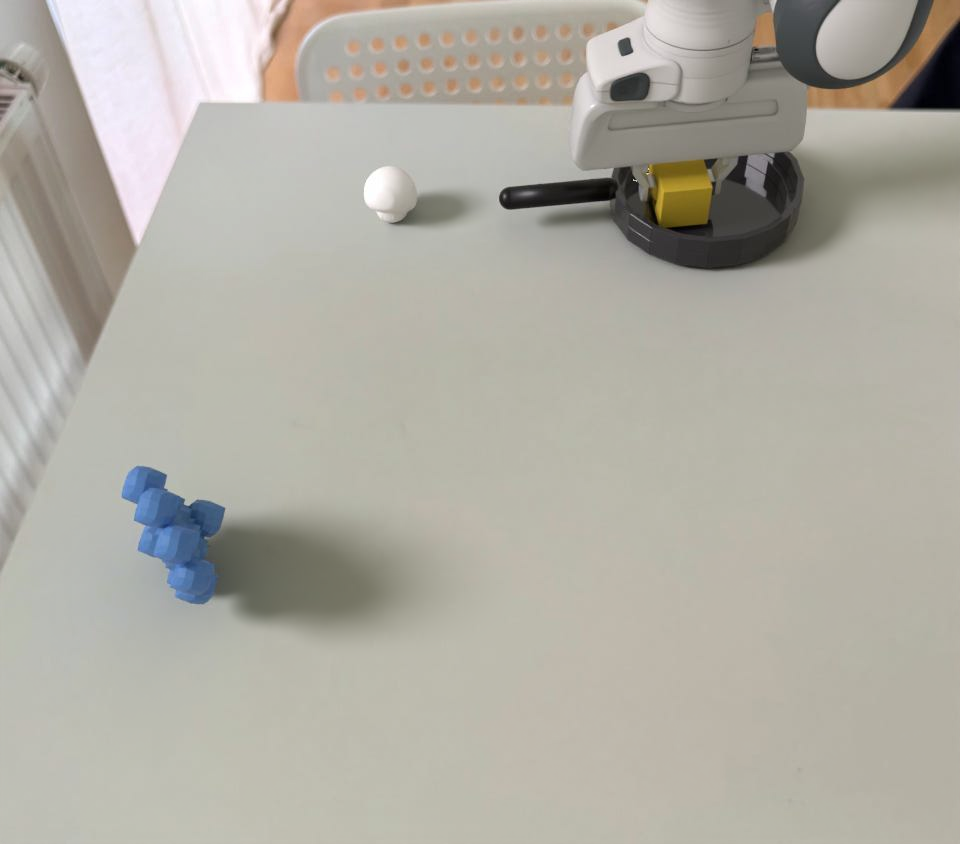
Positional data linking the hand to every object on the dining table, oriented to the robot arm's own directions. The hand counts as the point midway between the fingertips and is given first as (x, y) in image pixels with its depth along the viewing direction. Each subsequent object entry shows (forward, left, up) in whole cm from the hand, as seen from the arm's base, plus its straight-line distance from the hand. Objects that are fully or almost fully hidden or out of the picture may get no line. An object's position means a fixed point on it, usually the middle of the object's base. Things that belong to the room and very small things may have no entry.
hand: (678, 194), depth 101 cm
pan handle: (+11, 0, 0) cm, 11 cm away
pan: (-3, -1, -2) cm, 4 cm away
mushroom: (+26, -4, -2) cm, 27 cm away
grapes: (+42, +35, -2) cm, 55 cm away
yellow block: (0, 0, -1) cm, 1 cm away
